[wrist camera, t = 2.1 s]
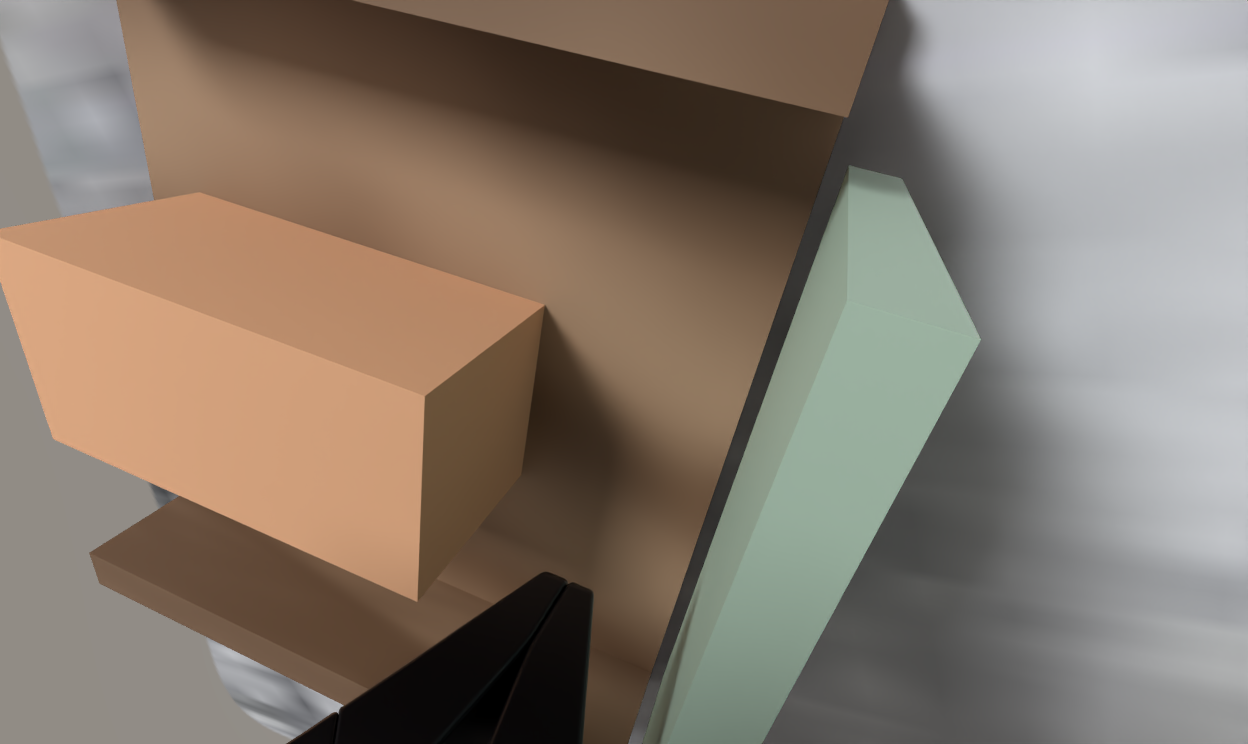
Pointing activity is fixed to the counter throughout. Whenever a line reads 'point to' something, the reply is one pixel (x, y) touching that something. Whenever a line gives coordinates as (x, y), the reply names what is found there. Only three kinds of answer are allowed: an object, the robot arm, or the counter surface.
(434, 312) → the peach rectangular block
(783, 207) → the brown wooden tray
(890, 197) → the pale green rectangular block
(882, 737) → the counter surface
